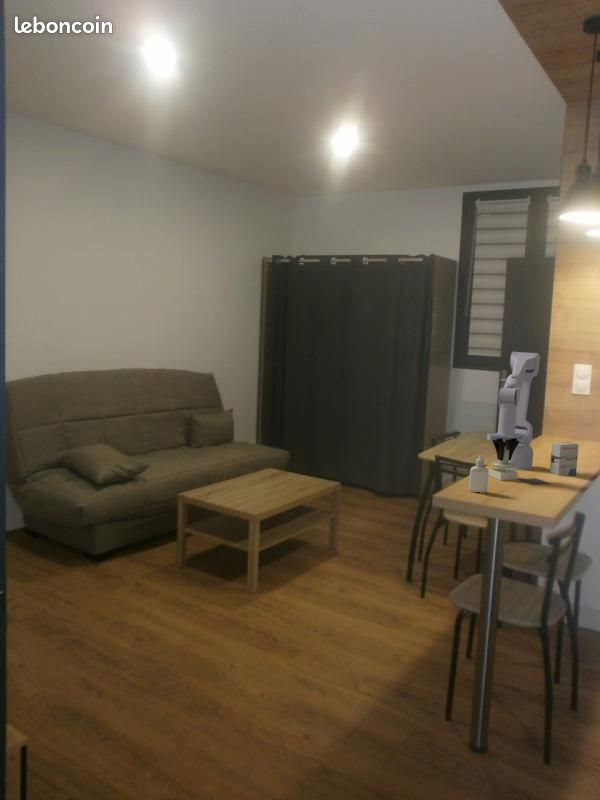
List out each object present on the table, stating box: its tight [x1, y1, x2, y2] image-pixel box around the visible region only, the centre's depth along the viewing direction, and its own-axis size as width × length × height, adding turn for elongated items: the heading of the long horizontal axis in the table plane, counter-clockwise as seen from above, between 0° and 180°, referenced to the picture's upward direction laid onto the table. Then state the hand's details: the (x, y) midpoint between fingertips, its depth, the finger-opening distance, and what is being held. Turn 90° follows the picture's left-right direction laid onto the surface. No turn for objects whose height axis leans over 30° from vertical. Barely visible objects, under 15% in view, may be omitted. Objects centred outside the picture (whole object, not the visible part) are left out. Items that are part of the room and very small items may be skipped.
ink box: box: [549, 441, 579, 476], centre depth 244 cm, size 8×5×12 cm, turn 111°
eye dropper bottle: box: [468, 454, 489, 494], centre depth 214 cm, size 4×6×12 cm
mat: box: [517, 477, 552, 486], centre depth 230 cm, size 8×8×1 cm
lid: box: [491, 448, 516, 469], centre depth 233 cm, size 8×8×6 cm
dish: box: [488, 467, 519, 481], centre depth 234 cm, size 7×7×3 cm
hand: (504, 459), depth 233 cm, fingers closed on lid, 3 cm apart
